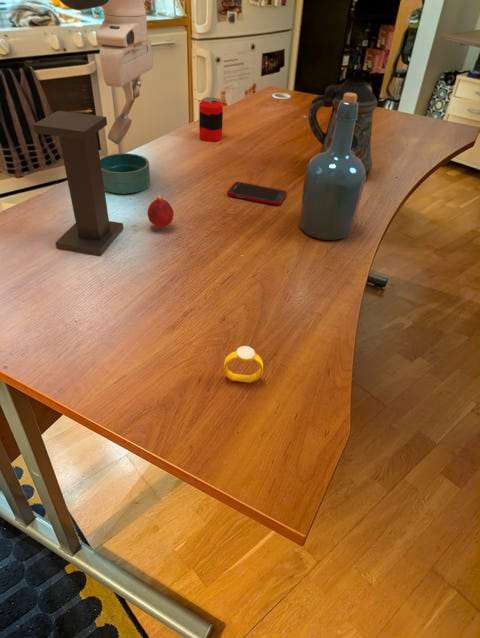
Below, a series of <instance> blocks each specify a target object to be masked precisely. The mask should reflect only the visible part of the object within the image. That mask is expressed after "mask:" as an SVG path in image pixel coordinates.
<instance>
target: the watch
mask: <svg viewBox="0 0 480 638" xmlns="http://www.w3.org/2000/svg"><path fill="white" fill-rule="evenodd" d="M237 359H238V361H241V362H243V363H248V362H251V361H254V362H256V363H257V365H258V366H259V369H258V370H257V371H256V372H255V373H253V374H249V375H248V374H240V373H234V372H233V371H231V370H230V369H229V367H228V364H230V363H231V362H232V361H233V360H237ZM223 373H224V375H225V377H226V378H228V379H229V380H230V381H232V382H239V383H248V384H251V383H254V382H256V381H258V380H259V379H260V378H261V377H262V376H263V373H264V361H263V360H262V358H261V356H260V355H259V354H257V353H256V351H255V350H254V349H253V348H252V347H251V346H248V345H242V346H239V347H238V348H237V349H236V350H235V351H233V352H230V353H229V354H228V355H227V356H226V357H225V358H224V362H223Z"/></svg>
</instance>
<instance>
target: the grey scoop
mask: <svg viewBox="0 0 480 638" xmlns="http://www.w3.org/2000/svg"><path fill="white" fill-rule="evenodd" d="M141 87H142V81H141V82H140V81H139V80H136V81H135V82H134V84H133V86H132V89H133V92H135V99H134V100H133V101H127V100H126V99H125V103H124V105H123V107H122V110H121V112H120V114H119V115H118V117H116V119H115V120H114V121H113V123H112V125H111V127H110V129H109V131H108V135H107V139H108V140H110V142H112V143H114V144H115V145H119V144H120V143H121V142H122V141H123V140H124V138H125V137H126V135H127V134H128V132H129V130H130V127H131V125H132V122H133V121H132V120H133V119H131V118H130V117H128V116H129V114H130V111H131V109H132V107H133V104H134V102H135V100H136V99H137V98H136V96H137V94H138V91H139V89H141Z"/></svg>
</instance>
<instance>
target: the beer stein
mask: <svg viewBox="0 0 480 638" xmlns="http://www.w3.org/2000/svg"><path fill="white" fill-rule="evenodd" d="M324 91H325V92H324V94H321V95H319V96H316V97H314V98H313V99H312V100H311V104H310V106H309V108H308V113H307V114H308V117H307V118H308V124H309V127H310V130H311V132H312V134H313V135H314V137H315V138H316V139H317V141H318V142H319V143H320V144H321V145H322V146H321V147H320V150H319V152H318V153H320V152H322V151H327V149H328V148H330V145H331V140H332V136H333V131H334V127H335V122H336V117H335V116H336V115H337V114H336V113H337V110H338V107H339V103H340V101H341V100H342V99H343V97H344V94H345V93H355V94H356V95H357V100H356V101H357V102H358V103H359V104H358V114H357V120H356V122H355V127H354V133H353V139H352V145H351V150H352V151H353V152H354V153H355V156H356V157H358V158H359V159H360V160H361V161H362V163H363V166H364V168H365V171H366V177H367V178H368V176H369V174H370V172H371V170H372V167H373V161H372V154H371V153H372V152H371V144H372V128H373V114H374V111H375V110H376V108H377V105H378V99H377V97H376V95H375V94H374V93H373V92H372V91H371V89H370V88H369V87H368V86H367V82H366V81H365V80H364V79H361V78H355V77H354V78H353V77H351V78H347V79H345V81H344V82H342V83H340V84H332V85H329V86H326V88H325V90H324ZM322 107H324V108H331V107H332V109H331V110H332V111H331V114H330V118H329V121H328V125H327V128H326V132H324V131H323V130H322V128H321V126H320V125H319V121H318V118H317V114H318V113H317V112H318V110H319V109H320V108H322Z"/></svg>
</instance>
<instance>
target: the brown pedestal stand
mask: <svg viewBox="0 0 480 638" xmlns="http://www.w3.org/2000/svg"><path fill="white" fill-rule="evenodd" d="M106 126H108V120H107V116H102V115H96V114H87V113H86V114H85V113H79V112H74V111H73V112H72V111H64V110H57V111H55V112H53V113H51V114H50V115H48V116H46V117H44V118H42V119H40V120H38V121H36V122H34V123H33V124H32V129H33V133H34V134H39V135H46V136H54V137H58V139H59V143H60V144H59V145H60V148H61V150H60V151H61V155H62V160H63V165H64V170H65V176H66V179H67V185H68V191H69V195H70V200H71V207H72V210H73V215H74V220H75V223H74V224H73V225H71V227H70V228H68V230H66V231H65V232H64V234H63V235H61V236H60V237H59V238H58V239H57V240H56V241H55V242H54V243H55V247H56V249H58V250H64V251H69V252H74V253H81V254H87V255H92V256H97V257H101V256H102V255H103V254H104V253H105V251H107V249H108V248H109V247H110V245H112V243H114V242H115V240H116V239H117V238H118V236H119V235H120V234H121V233H122V232H123V230H124V222H119V221H111V220H110V219H109V212H108V205H107V198H106V192H105V191H106V190H104V183H103V176H102V169H101V162H100V158H101V156H100V148H99V142H98V135H97V133H98V132H99V131H101V130H102V129H104V128H105V127H106Z"/></svg>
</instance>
